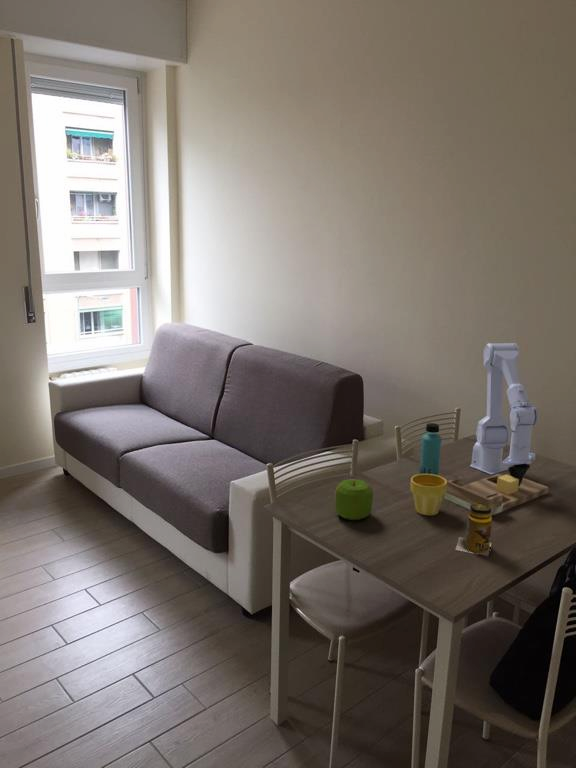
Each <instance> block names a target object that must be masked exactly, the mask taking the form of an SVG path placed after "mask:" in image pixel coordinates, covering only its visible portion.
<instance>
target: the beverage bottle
mask: <svg viewBox="0 0 576 768" xmlns="http://www.w3.org/2000/svg"><path fill="white" fill-rule="evenodd" d="M425 431H426V433H424V434H423V435H422V436H421V446H420V460H419V463H420V464H419V474H433V475H438V476H440V469H441V466H440V465H441V450H442V439H443V438H442V437H441V436H440V435H439V432H440V425H439V424H438V423H434V422H433V423H432V422H430V423H427V424H426V426H425Z"/></svg>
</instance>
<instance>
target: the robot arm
mask: <svg viewBox="0 0 576 768" xmlns="http://www.w3.org/2000/svg"><path fill="white" fill-rule="evenodd" d="M519 358H520V347H519V346H518V344H517V343H516V342H512V343H504V342H503V343H492V342H488V343H487V344H486V345H485V347H484V349H483V367H484V368H486V369H487V376H486V377H487V381H486V387H487V388H486V416H484V417H483V418H482V419H480V420H479V421H478V422H477V423H478V424H477V429H476V432H475V433H476V439H477V441H476V442H475V444H474V445H473V447H472V454H471V464H470V465H469V466H470V467H471V468H473V469H475V470H478V471H481V472H484V473H485V474H488V475H490V476H493V475H496V474H498V473H501V472H504V471H507V470H508V472H510V476H512V477H515V478H517V479H519V484H518V487H519V486H520V484H521V482H522V479H523V478H525V477H524V476H525V474H526V473H527V472H528V470H529V469H530V466H531V464H532V461H535V460H536V453H534V452H530V449H531V442H532V441H531V440H532V431H533V426H535V424H537V422H538V413H537V407H535V406H534V404H533V403H531V402H530V399H529V395H528V393H527V392H528V391H527V389H526V386H524V385H523V384H521V381H520V375H519V370H518V362H519ZM503 377H504V378H505V382H506V384H507V386H508V388H507V390H506V396H507V399H508V402H509V407H510V413H509V420H510V423H509V422H508V421H507V420H506V419H505V418H503V416H502V415H503V391H504V390H503V388H504V387H503V382H504V378H503ZM509 424H510V425H509ZM510 429H511V431H510ZM509 442H510V445H509V446H510V447H509V455H508V456H507V457H506V458H505V459H504V460H503V453H504V448H505V447H506V445H507V444H508V443H509Z"/></svg>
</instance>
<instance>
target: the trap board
mask: <svg viewBox="0 0 576 768" xmlns="http://www.w3.org/2000/svg"><path fill="white" fill-rule="evenodd" d="M506 474H507V475H509V476H510V472H509V471H507V470H505V471H502V472H499V473H496V474H493V475H490V476H486V477H484V478H481V479H479V480H476V481H472V482H469V483H468V484H464V485H463V477H462V476H458V477H455V478H451V479H449V480H446V481H447V490H446V494H445V495H443V499H445V500H448V501H450V502H452V503H454V504H457V505H458V506H461V507H463V508H465V509H467V510H469V511H470V506H471V504H473V503H484V504H487V505H489V506H490V507H491V517H493V516H494V515H497V514H499V513H503V512H505V511H507V510H509V509H512V508H514V507H516V506H519V505H522V504H524V503H527V502H529V501H532V500H535V499H537V498H539V497H542V496H545V495H547V494H549V486H547V485H544V484H542V483H538V482H536V481H533V480H531V479H529V478H525V477H523V479H522V482H521V484H520V486H519V487H518V491H517V492H514V493H512V494H509V495H508V494H506V493H503V492H501V491H499V490H496V488H497V479H498V477H501V476H504V475H506Z"/></svg>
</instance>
